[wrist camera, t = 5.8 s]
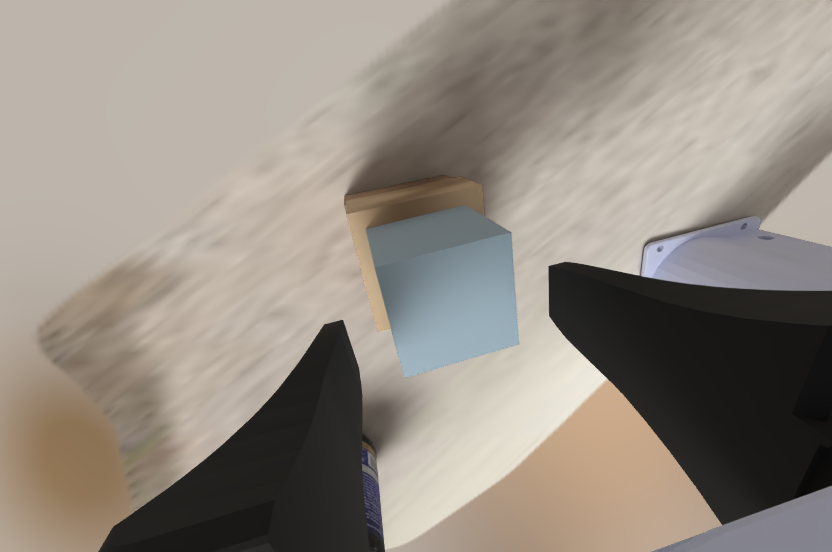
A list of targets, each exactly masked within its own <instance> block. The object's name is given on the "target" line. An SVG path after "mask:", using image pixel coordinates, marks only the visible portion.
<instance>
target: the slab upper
mask: <svg viewBox="0 0 832 552" xmlns="http://www.w3.org/2000/svg"><path fill="white" fill-rule="evenodd" d="M462 205H466V206H468V207H470V208H471V209H473V210H475V211H476V212H478V213H480V214H481V215H483V216H485V214H484V202H483V190H482V185H481V184H478V183H476V182H473V181H471V180H468V179H466V178H463V177H456V178H452V179H447V180H442V181H437V182H433V183H428V184H423V185H418V186H414V187H409V188H404V189H400V190H395V191H390V192H385V193H381V194H376V195H371V196H367V197H362V198H357V199H352V200H348V201H346V215H347V219H348V223H349V227H350V230H351V234H352V238H353V242H354V245H355V249H356V253H357V257H358V260H359V264H360V268H361V272H362V275H363V279H364V283H365V287H366V290H367V294H368V298H369V302H370V305H371V309H372V313H373V317H374V320H375V324H376V328H377V332H379V331H383V330H387V329H391V327H390V323H389V320H388V316H387V312H386V308H385V305H384V301H383V297H382V294H381V290H380V286H379V282H378V279H377V275H376V271H375V268H374V263H373V259H372V255H371V250H370V246H369V242H368V237H367V233H366V229H368V228H372V227H376V226H380V225H384V224H388V223H392V222H397V221H401V220H405V219H409V218H413V217H417V216H421V215H425V214H429V213H433V212H437V211H442V210H446V209H450V208H454V207H458V206H462Z"/></svg>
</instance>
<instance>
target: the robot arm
mask: <svg viewBox="0 0 832 552" xmlns="http://www.w3.org/2000/svg"><path fill="white" fill-rule="evenodd" d="M760 223H761V219H760V217H757V216H751V217H747V218H743V219H739V220H735V221H731V222H728V223H724V224H720V225H716V226H712V227H708V228H705V229H701V230H697V231H693V232H689V233H686V234H682V235H678V236H674V237H670V238H666V239H663V240H659V241H655V242H651V243H649V244H648V245H646V247H645V249H644V255H643V263H642V271H641V276H638V275H633V274H628V273H623V272H618V271H613V270H609V269H604V268H599V267H594V266H589V265H584V264H578V263H571V262H563V263H559V264H555V265H551V266H549V316H550V318H551V319H552V320H553V322H554V323H555V325H556V326H557V327H558V329H559V330H560V331H561V332H562V334H563V335H564V336H565V337H566V338H567V339H568V341H569V342H570V343H571V344H572V345H573V346H574V347H575V348H576V349H578V350H579V351H580V352H581V353H582V354H583V355H584V356H585V357H586V358H587V359H588V360H589V361H590V362H591V363H592V364H593V365H594V366H595V367H596V368H597V369H598V370H599V371H600V372H601V373H602V374H603V375H604V376H605V377H606V378H607V379H608V380H609V381H611V382H612V383H613V384H614V385H615V387H616V388H618V390H619V391H620V392H621V393H622V394H623V395H624V396H625V397H626V398H627V400H628V401H629V402H630V403H631V404H632V405H633V406H634V408H635V409H636V410H637V411H638V413H639V414H640V415H641V416H642V417H643V418H644V420H645V421H646V422H647V423H648V425H649V426H650V427H651V428H652V429H653V431H654V432H655V433H656V435H657V436H658V437H659V438H660V440H661V441H662V442H663V444H664V445H665V446H666V447H667V449H668V450H669V451H670V452H671V454H672V455H673V457H674V458H675V459H676V461H677V462H678V463H679V465H680V466H681V467H682V469H683V470H684V471H685V473H686V474H687V475H688V477H689V478H690V479H691V481H692V482H693V484H694V485H695V486H696V487H697V489H698V491H699V492H700V493H701V495H702V496H703V498H704V499H705V500H706V502H707V504H708V505H709V506H710V508H711V509H712V511H713V512H714V514H715V515H716V517H717V518H718V519H719V521H720V522H721V524H722V526H719V527H716V528H714V529H711V530H709V531H707V532H705V533H702V534H699V535H696V536H694V537H691V538H688V539H685V540H683V541H680V542H677V543H674V544H671V545H669V546H666V547H663V548H660V549H658V550H655V551H652V552H832V247H830V246H825V245H821V244H817V243H813V242H809V241H805V240H800V239H796V238H792V237H788V236H783V235H780V234H775V233H771V232H766V231H763V230H759V227H760ZM657 248H658V249H657ZM99 552H370V549H369V539H368V529H367V519H366V509H365V499H364V488H363V476H362V388H361V380H360V372H359V367H358V364H357V361H356V358H355V355H354V352H353V349H352V346H351V343H350V340H349V337H348V334H347V331H346V328H345V325H344V322H343V320H340V321H336V322H332V323H328V324H325V325H324V326H323V327H322V329H321V330H320V332H319V333H318V335H317V336H316V338H315V339H314V341H313V342H312V344H311V345H310V347H309V348H308V350H307V351H306V353H305V354H304V356H303V357H302V359H301V360H300V361H299V363H298V364H297V366H296V367H295V368H294V369H293V371H292V372H291V373H290V375H289V376H288V377H287V378H286V380H285V381H284V382H283V384H282V385H281V386H280V387H279V389H278V390H277V391H276V392H275V393H274V394H273V395H272V397H271V398H270V399H269V400H268V401H267V402H266V403H265V404H264V405H263V406H262V407H261V408H260V410H259V411H258V412H257V413H256V414H255V415H254V416H253V417H252V418H251V419H250V420H249V421H248V422H246V423H245V424H244V425H243V426H242V427H241V428H240V429H239V430H238V431H237V432H236V433H235V434H234V435H232V436H231V437H230V438H229V439H228V440H227V441H226V442H225V443H224V444H223V445H222V446H220V447H219V448H218V449H217V450H216V451H215V452H213V453H212V454H211V455H210V456H209V457H207V458H206V459H205V460H204V461H203V462H201V463H200V464H199V465H198V466H196V467H195V468H194V469H192V470H191V471H190V472H189V473H187V474H186V475H185V476H184V477H182V478H181V479H180V480H178V481H177V482H176V483H174V484H173V485H172V486H170V487H169V488H168V489H166V490H165V491H164V492H162V493H161V494H159V495H158V496H156V497H155V498H154V499H152V500H151V501H149V502H148V503H147V504H145V505H144V506H142V507H141V508H140V509H138V510H137V511H135V512H134V513H133V514H131V515H130V516H128V517H127V518H126V519H124V520H123V521H121V522H120V523H118V524H117V525H115V526H114V527H113V528H112V530H111V531H110V533H109V535H108V536H107V538H106V540H105V542H104V543H103V545H102V547H101V548H100V550H99Z"/></svg>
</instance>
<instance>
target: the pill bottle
mask: <svg viewBox="0 0 832 552" xmlns="http://www.w3.org/2000/svg"><path fill="white" fill-rule="evenodd" d="M362 476H363V488H364V499H365V509H366V519H367V529H368V539H369V549H370V552H385V547H384V537H383V526H382V515H381V504H380V493H379V482H378V472H377V462H376V452H375V449H374V447H373V445H372V443H371V442H370V441H369V440H368V439H367V438H366V437H364V436H363V435H362Z"/></svg>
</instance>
